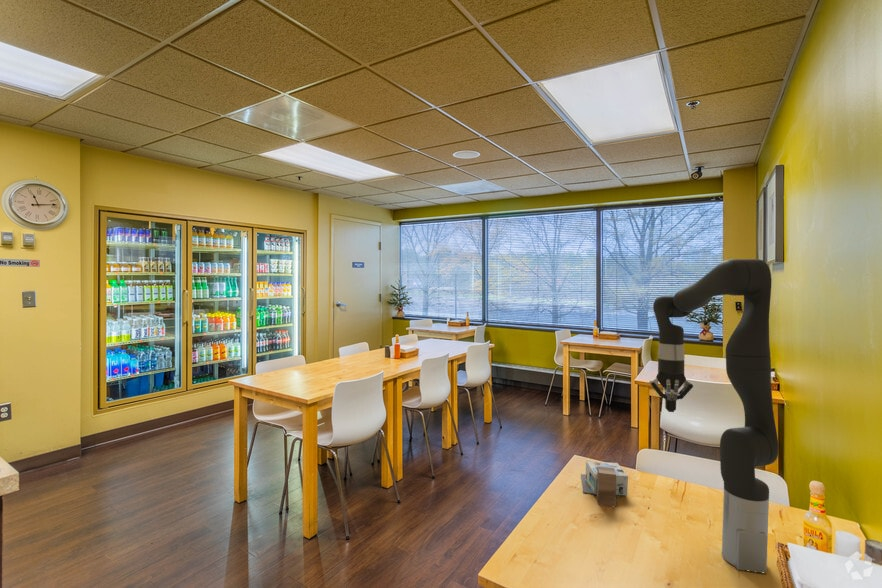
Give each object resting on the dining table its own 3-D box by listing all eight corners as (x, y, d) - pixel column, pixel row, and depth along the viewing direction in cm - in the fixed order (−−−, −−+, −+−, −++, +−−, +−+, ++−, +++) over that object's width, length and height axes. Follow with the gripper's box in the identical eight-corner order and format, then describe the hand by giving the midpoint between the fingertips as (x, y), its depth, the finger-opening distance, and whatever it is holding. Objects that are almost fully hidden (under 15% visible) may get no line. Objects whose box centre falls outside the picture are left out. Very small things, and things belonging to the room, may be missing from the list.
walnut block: (615, 506, 135) (616, 474, 135) (598, 504, 136) (598, 472, 136) (613, 499, 140) (614, 468, 139) (596, 497, 141) (597, 466, 141)
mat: (619, 497, 141) (619, 496, 141) (583, 493, 143) (583, 491, 143) (613, 478, 154) (613, 477, 154) (580, 475, 157) (580, 474, 157)
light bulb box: (628, 475, 141) (594, 474, 141) (628, 496, 141) (594, 494, 141) (617, 462, 151) (585, 460, 152) (616, 481, 152) (584, 479, 152)
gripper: (651, 358, 139) (651, 413, 139) (697, 360, 136) (697, 416, 136) (646, 355, 146) (645, 407, 146) (690, 356, 143) (689, 409, 143)
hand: (670, 411), depth 141 cm, fingers closed
